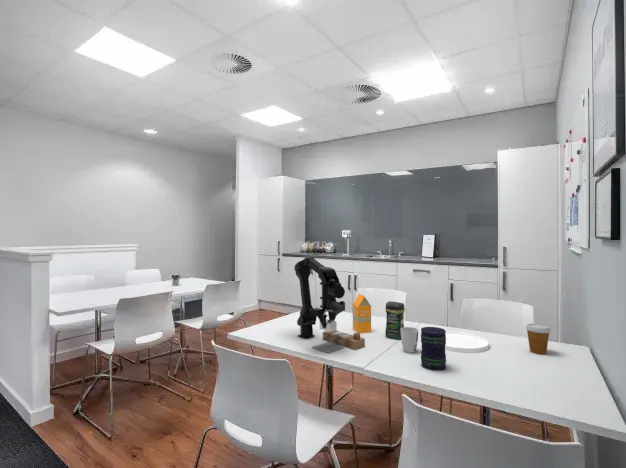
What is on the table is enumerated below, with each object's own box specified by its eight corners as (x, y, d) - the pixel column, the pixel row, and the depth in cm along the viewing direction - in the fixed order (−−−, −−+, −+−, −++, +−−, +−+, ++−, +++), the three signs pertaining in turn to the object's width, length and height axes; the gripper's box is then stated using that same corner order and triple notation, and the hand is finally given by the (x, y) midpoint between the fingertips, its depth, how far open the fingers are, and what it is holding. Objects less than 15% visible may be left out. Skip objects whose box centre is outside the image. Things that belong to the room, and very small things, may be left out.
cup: (419, 354, 159) (419, 332, 159) (400, 353, 160) (400, 331, 160) (417, 348, 167) (417, 327, 167) (400, 347, 168) (400, 326, 168)
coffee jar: (383, 337, 185) (382, 302, 185) (390, 333, 191) (389, 299, 191) (400, 340, 179) (400, 304, 179) (406, 337, 185) (406, 301, 185)
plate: (425, 334, 191) (424, 330, 191) (480, 337, 185) (480, 332, 185) (431, 351, 163) (431, 346, 163) (496, 355, 158) (496, 350, 158)
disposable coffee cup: (547, 350, 163) (546, 324, 163) (553, 356, 154) (553, 329, 154) (523, 347, 167) (523, 322, 167) (528, 354, 158) (528, 327, 158)
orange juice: (358, 333, 192) (358, 296, 192) (352, 329, 201) (352, 294, 201) (371, 332, 194) (371, 296, 194) (365, 328, 203) (365, 293, 203)
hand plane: (322, 339, 181) (322, 327, 181) (332, 336, 186) (332, 324, 186) (355, 350, 165) (355, 336, 165) (364, 346, 170) (364, 333, 170)
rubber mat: (311, 347, 169) (311, 346, 169) (328, 342, 176) (328, 341, 176) (328, 353, 161) (328, 352, 161) (344, 347, 168) (344, 347, 168)
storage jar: (415, 364, 147) (415, 328, 147) (432, 360, 152) (432, 325, 152) (434, 372, 138) (434, 334, 138) (451, 367, 143) (451, 331, 143)
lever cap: (319, 328, 170) (319, 318, 170) (326, 327, 173) (326, 317, 173) (329, 331, 164) (329, 321, 164) (336, 330, 167) (336, 319, 167)
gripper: (325, 300, 156) (325, 335, 156) (353, 294, 169) (353, 327, 169) (308, 296, 165) (309, 329, 165) (336, 291, 177) (336, 322, 177)
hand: (327, 327), depth 169 cm, fingers closed on lever cap, 4 cm apart
